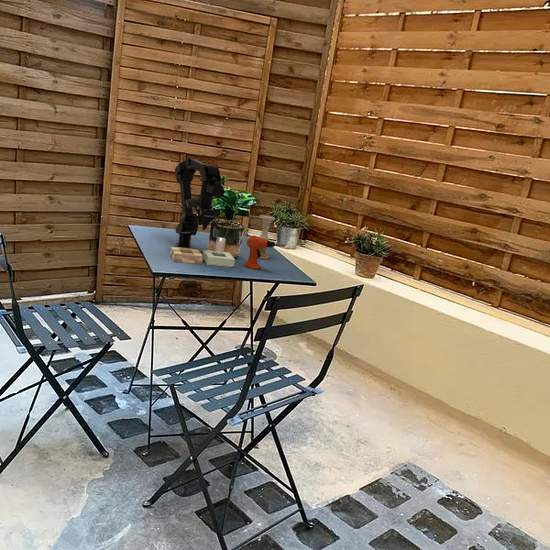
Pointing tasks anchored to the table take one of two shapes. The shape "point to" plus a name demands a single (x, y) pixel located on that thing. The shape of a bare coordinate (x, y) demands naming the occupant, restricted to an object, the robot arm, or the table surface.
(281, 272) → the table surface
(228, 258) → the square block with hole
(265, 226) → the candle holder
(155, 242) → the table surface
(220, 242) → the silver flared cylinder
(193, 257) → the socket block
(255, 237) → the toy drill
